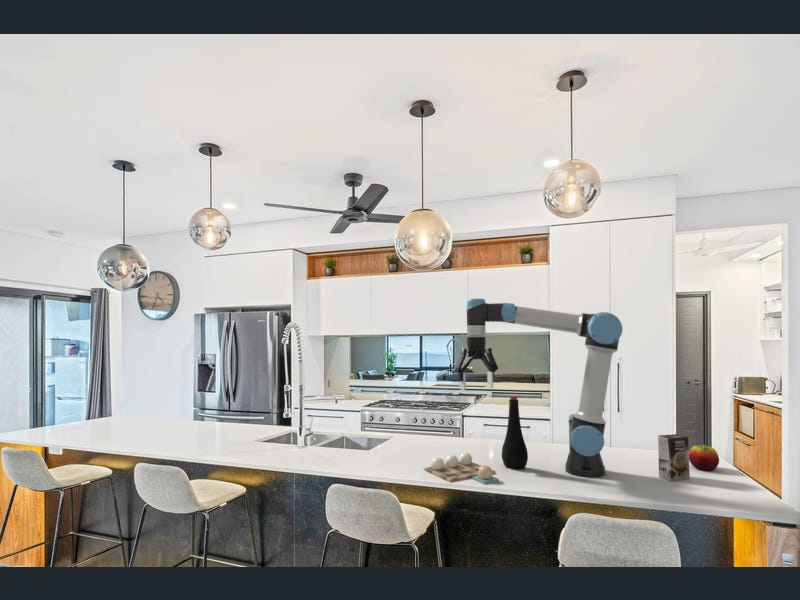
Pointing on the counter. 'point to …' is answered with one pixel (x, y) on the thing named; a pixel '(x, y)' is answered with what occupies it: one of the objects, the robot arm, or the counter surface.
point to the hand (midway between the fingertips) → (476, 388)
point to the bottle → (514, 439)
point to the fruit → (703, 457)
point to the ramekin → (485, 480)
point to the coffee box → (673, 457)
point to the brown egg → (485, 472)
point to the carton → (456, 472)
